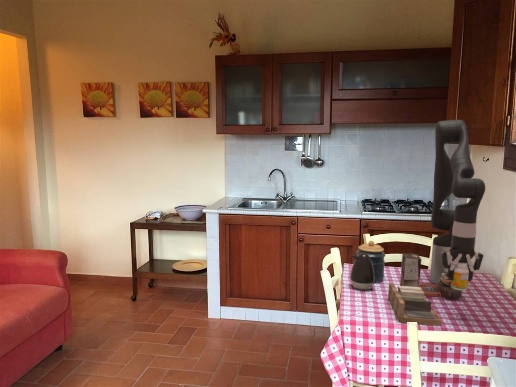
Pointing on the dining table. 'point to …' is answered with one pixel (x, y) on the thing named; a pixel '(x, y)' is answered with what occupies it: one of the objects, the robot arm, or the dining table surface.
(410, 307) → the wooden tray
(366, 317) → the dining table surface
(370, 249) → the canister
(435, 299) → the dining table surface
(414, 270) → the coffee box
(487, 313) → the dining table surface
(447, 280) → the cupcake
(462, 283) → the supplement bottle
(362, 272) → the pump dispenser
